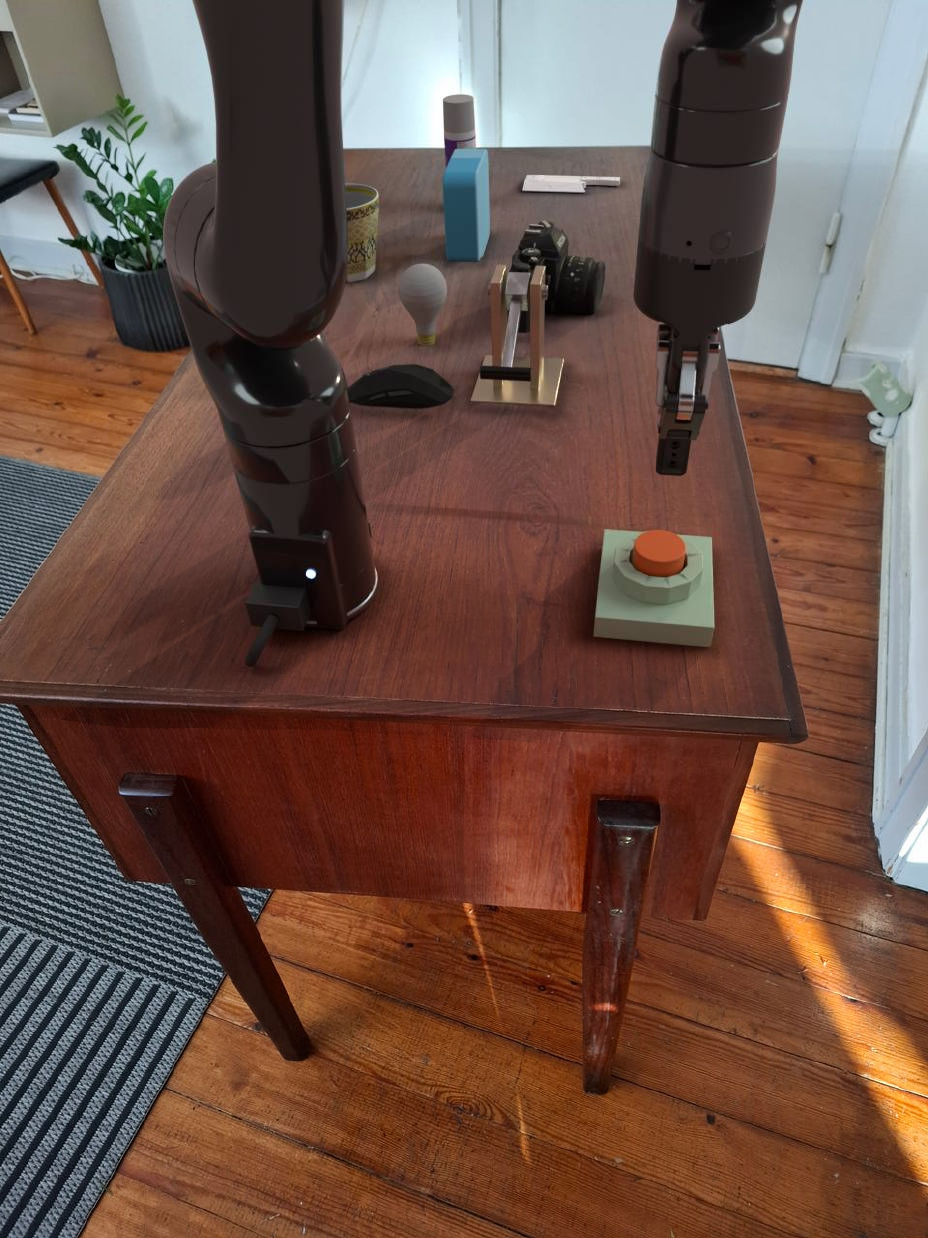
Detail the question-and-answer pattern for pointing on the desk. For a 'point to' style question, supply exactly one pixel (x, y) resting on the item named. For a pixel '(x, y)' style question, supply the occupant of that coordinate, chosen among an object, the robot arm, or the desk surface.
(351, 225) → the ceramic cup
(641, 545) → the button
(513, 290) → the lever
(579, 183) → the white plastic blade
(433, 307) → the light bulb
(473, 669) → the desk surface
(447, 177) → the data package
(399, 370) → the gaming mouse
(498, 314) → the bracket
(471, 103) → the container
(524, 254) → the film camera
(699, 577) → the button block
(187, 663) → the desk surface
